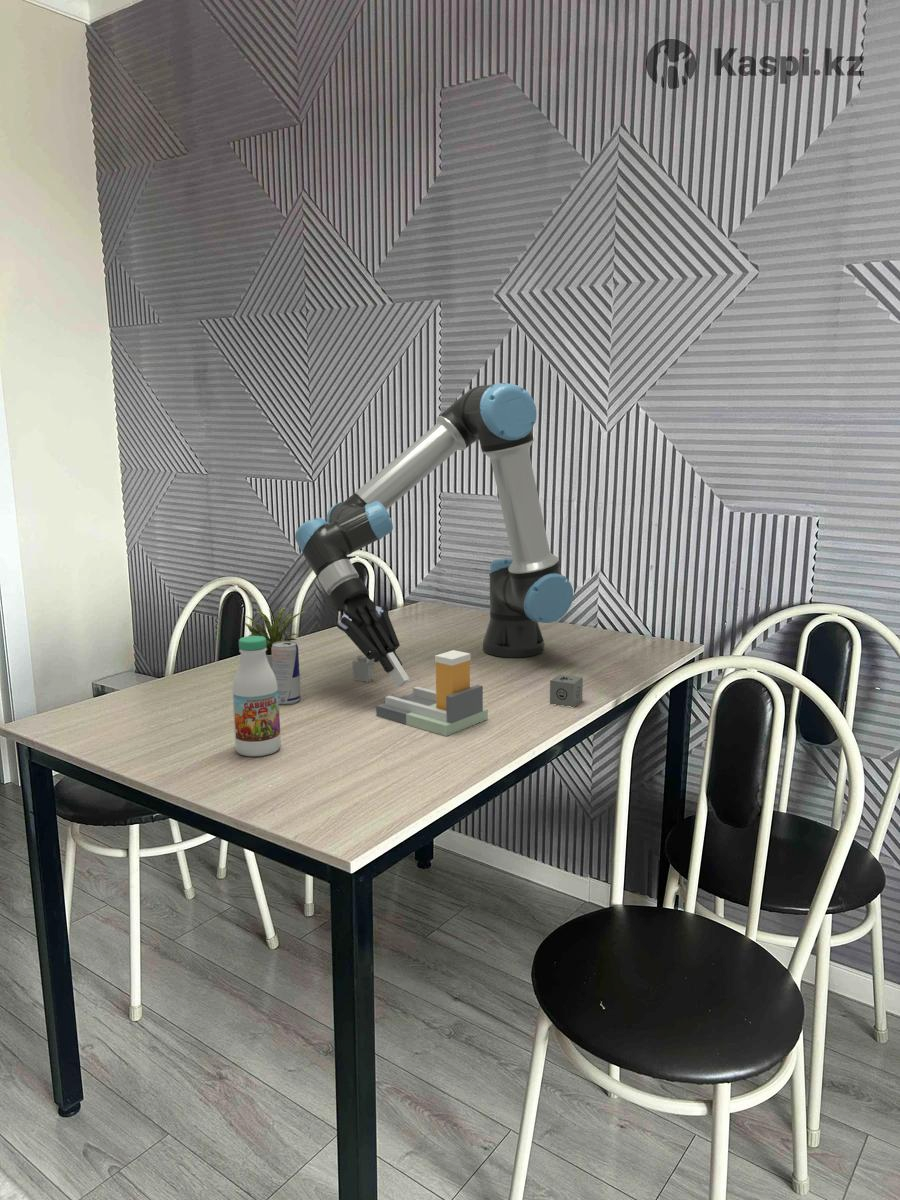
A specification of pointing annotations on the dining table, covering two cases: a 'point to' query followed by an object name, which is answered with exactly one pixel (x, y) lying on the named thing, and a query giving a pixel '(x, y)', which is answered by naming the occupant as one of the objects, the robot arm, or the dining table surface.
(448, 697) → the grey rail tray
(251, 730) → the milk bottle
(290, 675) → the energy drink
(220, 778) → the dining table surface
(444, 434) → the robot arm
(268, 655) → the house plant
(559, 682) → the dice cube
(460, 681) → the block
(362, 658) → the lighter
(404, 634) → the dining table surface
